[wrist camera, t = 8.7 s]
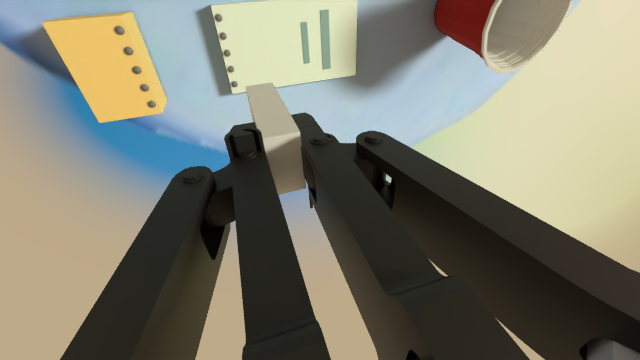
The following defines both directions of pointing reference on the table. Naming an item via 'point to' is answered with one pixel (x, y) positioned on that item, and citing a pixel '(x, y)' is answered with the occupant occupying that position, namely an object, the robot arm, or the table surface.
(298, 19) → the pale green flat block
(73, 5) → the table surface
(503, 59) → the plastic cup
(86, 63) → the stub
